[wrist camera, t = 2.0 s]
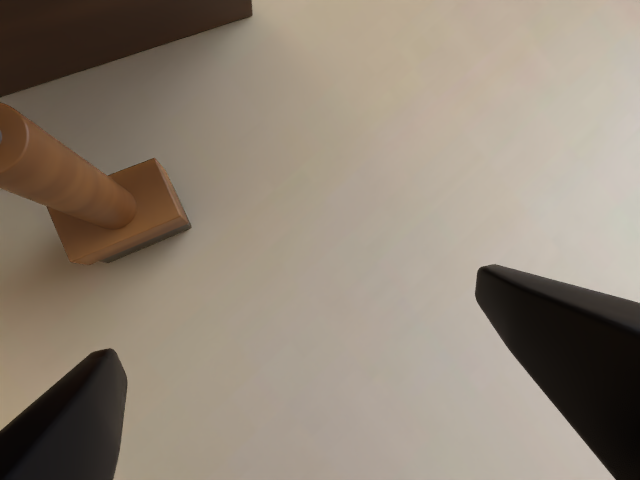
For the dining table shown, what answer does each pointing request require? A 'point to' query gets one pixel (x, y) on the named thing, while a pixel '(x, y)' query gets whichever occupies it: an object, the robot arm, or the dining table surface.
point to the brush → (88, 194)
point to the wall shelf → (95, 33)
